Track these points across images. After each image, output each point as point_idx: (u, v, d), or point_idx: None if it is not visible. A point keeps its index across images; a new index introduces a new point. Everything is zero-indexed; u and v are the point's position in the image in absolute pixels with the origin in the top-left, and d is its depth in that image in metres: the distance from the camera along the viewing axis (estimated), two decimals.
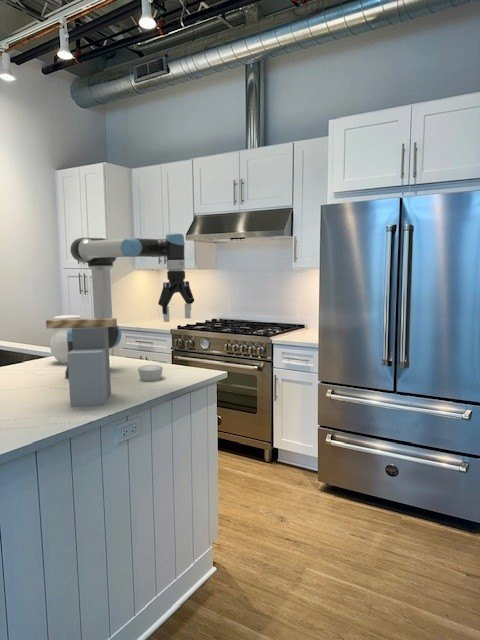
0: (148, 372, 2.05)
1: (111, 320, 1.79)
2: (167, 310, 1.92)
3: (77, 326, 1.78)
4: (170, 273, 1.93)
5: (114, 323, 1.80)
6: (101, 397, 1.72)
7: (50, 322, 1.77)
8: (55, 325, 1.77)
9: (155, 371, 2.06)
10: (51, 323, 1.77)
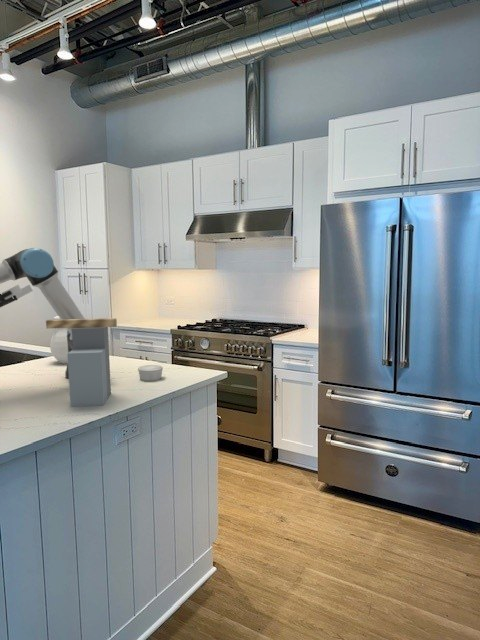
0: (148, 372, 2.05)
1: (111, 320, 1.79)
2: (6, 291, 1.68)
3: (77, 326, 1.78)
4: None
5: (114, 323, 1.80)
6: (101, 397, 1.72)
7: (50, 322, 1.77)
8: (55, 325, 1.77)
9: (155, 371, 2.06)
10: (51, 323, 1.77)
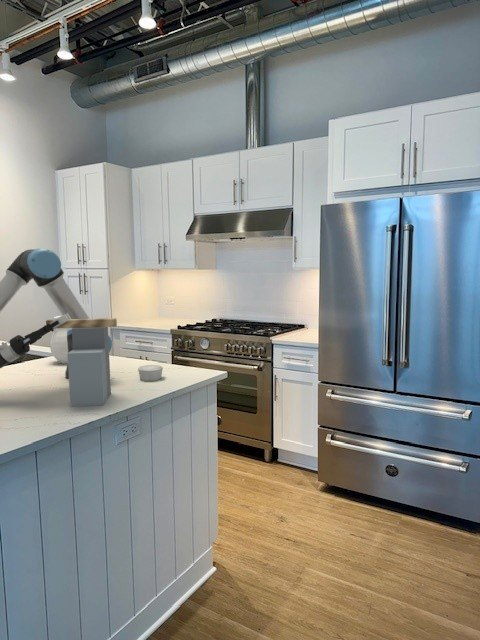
0: (148, 372, 2.05)
1: (111, 320, 1.79)
2: None
3: (77, 326, 1.78)
4: (14, 347, 1.75)
5: (114, 323, 1.80)
6: (101, 397, 1.72)
7: (50, 322, 1.77)
8: None
9: (155, 371, 2.06)
10: None
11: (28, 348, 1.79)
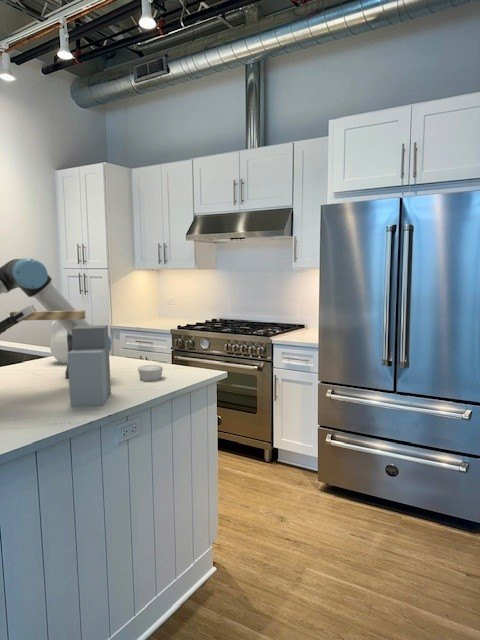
0: (148, 372, 2.05)
1: (79, 312, 1.70)
2: (18, 312, 1.67)
3: (43, 318, 1.69)
4: None
5: (82, 315, 1.70)
6: (101, 397, 1.72)
7: None
8: None
9: (155, 371, 2.06)
10: None
11: None
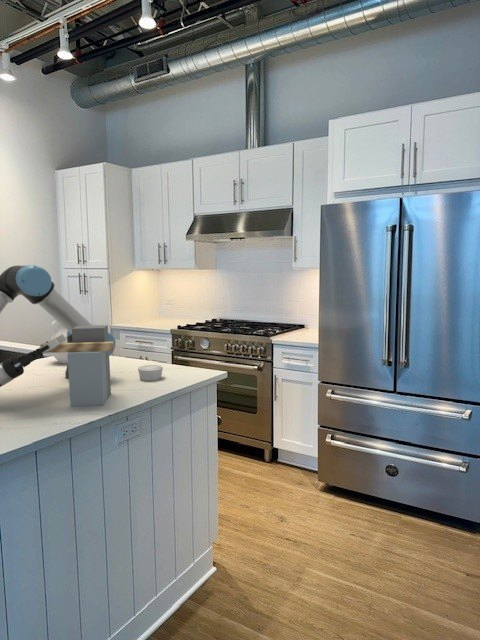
0: (148, 372, 2.05)
1: (108, 344, 1.72)
2: (43, 345, 1.66)
3: (73, 350, 1.71)
4: (7, 370, 1.68)
5: (111, 347, 1.73)
6: (101, 397, 1.72)
7: None
8: (50, 350, 1.70)
9: (155, 371, 2.06)
10: None
11: (22, 370, 1.72)
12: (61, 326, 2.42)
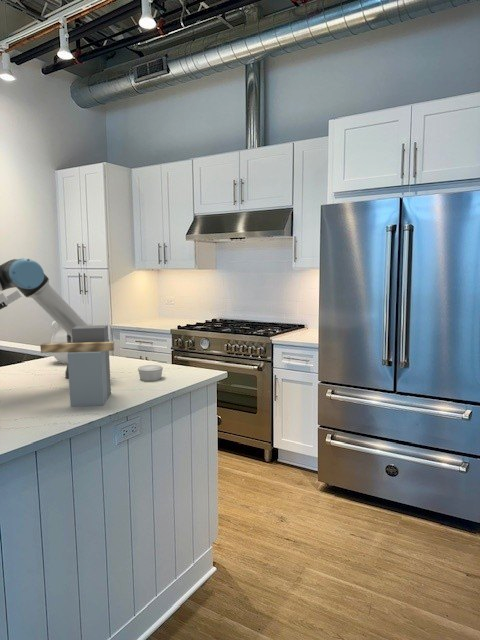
0: (148, 372, 2.05)
1: (108, 344, 1.72)
2: None
3: (73, 350, 1.71)
4: None
5: (111, 347, 1.73)
6: (101, 397, 1.72)
7: (45, 346, 1.70)
8: (50, 350, 1.70)
9: (155, 371, 2.06)
10: (46, 347, 1.70)
11: None
12: None
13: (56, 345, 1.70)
